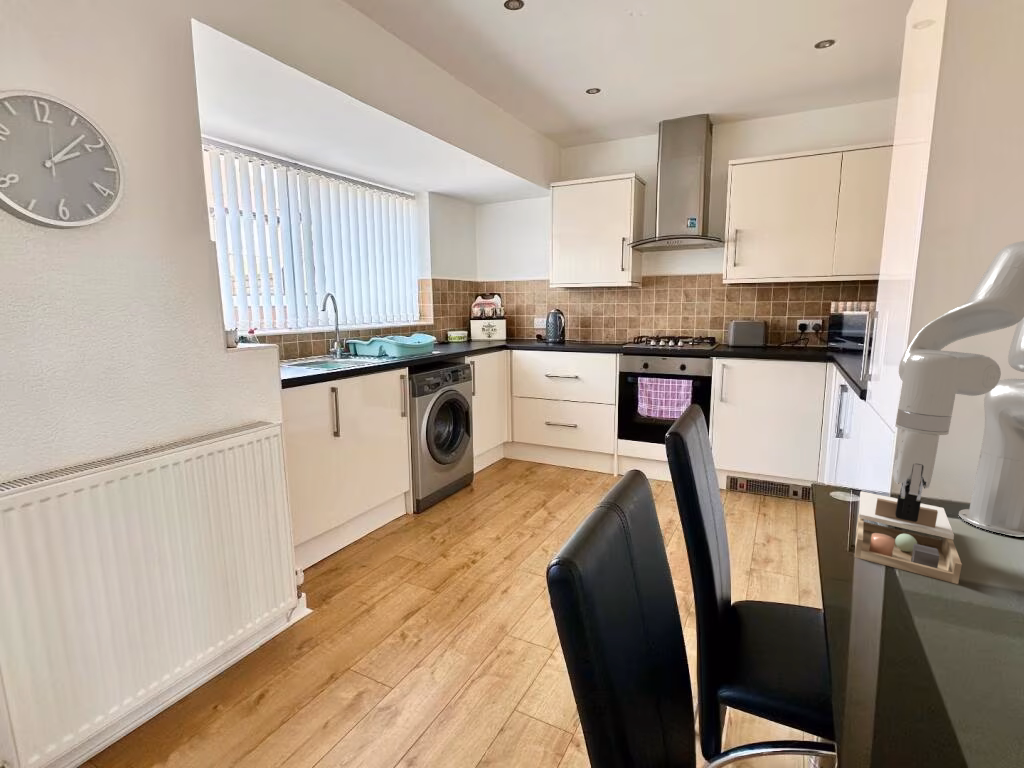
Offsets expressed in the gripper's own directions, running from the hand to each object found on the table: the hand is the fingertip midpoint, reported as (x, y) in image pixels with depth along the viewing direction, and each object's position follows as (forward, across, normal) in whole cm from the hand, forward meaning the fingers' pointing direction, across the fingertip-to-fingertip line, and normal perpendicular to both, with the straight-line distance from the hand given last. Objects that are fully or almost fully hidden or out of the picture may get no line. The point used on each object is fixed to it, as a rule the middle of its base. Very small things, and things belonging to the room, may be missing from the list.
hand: (905, 518), depth 94 cm
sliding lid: (+2, -8, 0) cm, 8 cm away
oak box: (+6, +3, 0) cm, 7 cm away
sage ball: (+6, +2, 0) cm, 6 cm away
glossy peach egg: (+6, +6, -3) cm, 9 cm away
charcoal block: (+6, +7, +3) cm, 9 cm away
